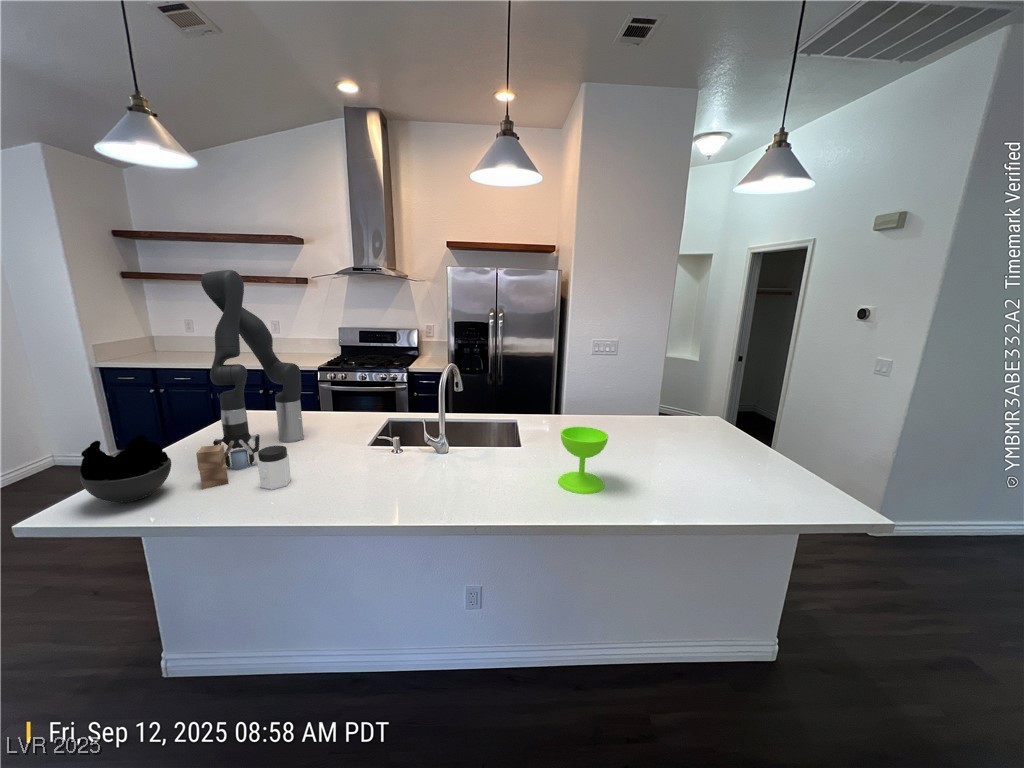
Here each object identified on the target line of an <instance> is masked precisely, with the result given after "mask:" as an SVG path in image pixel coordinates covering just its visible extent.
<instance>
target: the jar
mask: <svg viewBox="0 0 1024 768" xmlns="http://www.w3.org/2000/svg"><path fill="white" fill-rule="evenodd" d="M287 448H288V447H286V446H284V445H271V446H267V447H263V448H261V449H259V451H258V452H257V454H258V455H257V457H258V460H257V468H258V475H259V482H260V483H259V484H260V488H261V489H266V490H271V491H273V490H276V489H280V488H283V487H286V486H288V485H289V483H290V482H291V480H292V477H291V476H292V475H291V466H290V456H289V453H288V449H287Z"/></svg>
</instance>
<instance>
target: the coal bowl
mask: <svg viewBox="0 0 1024 768" xmlns="http://www.w3.org/2000/svg"><path fill="white" fill-rule="evenodd" d="M101 445H102V444H101V441H100V440H94V441H93V442H91V443H90V445H89V446H87V447H86V448H85V449H84V450H82V452H81V454H80V456H81V457H83V459H81V465H80V474H81V475H80V476H79V481H80V483H81V485H82V487H83V488H84V489H85V491H87V492H88V493H89V494H90V495H91V496H93V497H94V498H97V500H101V501H104V502H110V503H119V504H120V503H130V502H134V501H138V500H141V499H143V498H146V497H148V496H150V495H151V494H153V493H154V492H156V491H157V490H158V489H160V488H161V487H162V486H163V484H164V483H165V482H166V480H167V479H168V478H169V475H170V474H171V473H170V472H171V468H172V459H171V458H170V457H169V456H168V454H167V451H164V450H163V448H162V447H161V445H160V444H158V443H157V442H156V443H155V442H153V441H150V440H149V439H148V436H146V435H143V434H142V435H138V436H136V437H135V438H134V439H132V440H130V441H129V443H127V444H126V445H125V447H126V448H124V449H123V450H120V451H119V452H118V453H117V454H116V455H115V456H114V455H109V454H107V453H106V452H105V451H103V450H101Z"/></svg>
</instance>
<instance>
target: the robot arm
mask: <svg viewBox="0 0 1024 768" xmlns="http://www.w3.org/2000/svg"><path fill="white" fill-rule="evenodd" d="M200 283H201V287H202V289H203V291H204V293H205V294H206V296H207V297H208V298H209V299H210V300H211V301H212V302H213V304H215V305H216V307H217V308H218V309H219V310H220V311H221V312H222V315H221V317H220V319H219V321H218V323H217V324H216V327H215V329H214V330H215V332H214V351H215V352H214V358H213V363H212V365H211V368H210V372H209V378H210V381H211V383H213V384H214V385H216V386H234V385H235V388H233V389H230V390H226V391H222V392H221V393H220V394H219V403H220V418H221V419H220V420H221V421H220V422H221V426H222V427H221V428H222V433H223V436H222V438H215V439H214V440H213V442H212V443H213V444H212V445H213V446H214V445H223V444H225V445H226V446H227V447H226V449H225V450H224V452H225V460H226V468H231V466H232V463H231V455H229V454H230V452H231V451H232V450H237V449H245V450H247V454H248V462H249V465H253V463H254V462H255V453H258V452H259V450H260V436H261V435H260V434H256V435H255V434H254V435H253V434H250V430H249V421H248V413H247V410H246V402H245V386H246V383H247V378H248V370H247V367H245V366H244V365H243V364H239V363H236V364H234V363H233V364H225V363H226V361H227V360H230V359H234V358H237V357H240V355H241V346H240V345H241V343H240V342H241V341H240V337H241V339H242V340H243V341H244V343H245V344H246V345H247V346H248V347H249V349H250V350H251V352H252V353H253V355H254V356H255V358H256V359H257V360H258V362H259V363H260V365H261V367H262V368H263V370H264V373H265V374H266V377H268V379H269V381H271V382H272V383H274V384H277V385H282V391H281V392H278V393H276V394H275V395H274V399H275V409H276V421H277V430H278V431H277V432H278V440H279V441H280V442H282V443H293V442H294V443H295V442H298V441H301V440H304V425H303V416H302V404H301V394H302V373H301V369H300V367H299V365H298V364H296V363H292V362H285V361H284V362H283V361H281V360H280V359H279V358H278V357H277V355H276V354H275V351H274V349H273V342H274V341H273V339H274V338H273V335H272V333H271V332H270V329H269V328H268V327H267V325H266V324H265V323H264V321H263V320H262V319H261V318H260V317H258V315H256V314H254V313H253V312H250V311H249V310H248V309H246V308H245V307H243V302H244V294H245V293H244V292H245V285H244V280H243V278H242V276H241V274H239V273H238V272H237V271H236V270H232V269H224V270H217V271H208V272H204V273H203V274H202V276H201V278H200ZM250 440H252V441H253V442H254V448H253V447H252V446H251V445H250V443H249V442H250Z"/></svg>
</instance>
